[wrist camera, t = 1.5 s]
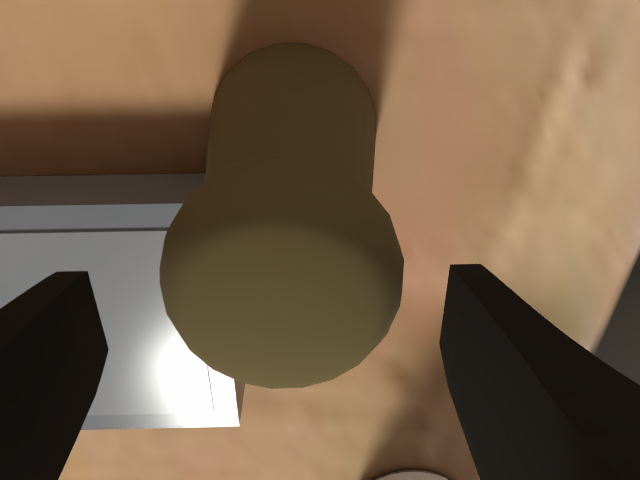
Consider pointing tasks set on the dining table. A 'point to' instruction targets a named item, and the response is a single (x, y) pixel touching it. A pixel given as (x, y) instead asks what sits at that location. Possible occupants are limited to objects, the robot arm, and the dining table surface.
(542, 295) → the dining table surface
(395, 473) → the can
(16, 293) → the grey flat square block
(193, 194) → the olive bowling pin
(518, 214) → the dining table surface
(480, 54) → the dining table surface
